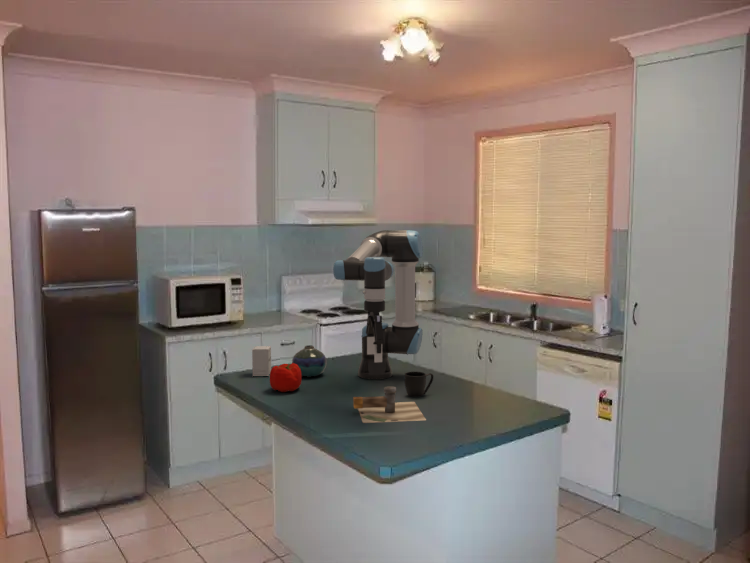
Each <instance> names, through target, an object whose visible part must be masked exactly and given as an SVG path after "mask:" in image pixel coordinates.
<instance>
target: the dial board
mask: <svg viewBox="0 0 750 563" xmlns="http://www.w3.org/2000/svg"><path fill="white" fill-rule="evenodd" d="M357 410H358V413H359V416H360V419H361V422H362V423H363V424H373V423H375V424H376V423H396V422H397V423H399V422H416V421H417V422H420V421H424V422H425V421H427V418H426V417H425V415H424V414H423V413H422V411H421V410H420V408H419V406H418V405H417V404H416V402H415V401H402V402H400V401H399V402H398V401H397V402H396V401H395V412H391V413H389V412H385V407H373V408H357Z"/></svg>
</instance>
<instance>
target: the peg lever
mask: <svg viewBox="0 0 750 563" xmlns="http://www.w3.org/2000/svg"><path fill="white" fill-rule="evenodd" d="M383 393H384V396H353V397H352V398H353V402H352V405H353V409H355V410H357V409H358V408H373V407H385V412H389V413H391V412H395V403H396V393H397V387H396V386H392V385H391V386H385V387H384V388H383Z"/></svg>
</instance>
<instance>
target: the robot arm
mask: <svg viewBox="0 0 750 563" xmlns="http://www.w3.org/2000/svg"><path fill="white" fill-rule="evenodd" d="M359 245H360V246H359V247H358V248H357V249H356V250H355V251H353V252H352V254H351V255H350V256H348V257H347V258H346V259H340V260H336V261H334V264H333V269H332V270H333V271H332V272H333V273H332V274H333V277H334V279H336V280H338V281H361V282H362V281H363V284H364V285H363V286H364V288H363V289H364V290H363V291H362V294H364V296H363V298H364V302H363V306H364V307H363V310H364V311H365V312H367V319H366V325H363V327H362V330H361V361H360V363H359V367H358V371H357V376H358V377H359V378H362V379H366V380H384V379H385V380H386V379H389V378H391V377H392V376H393V370H392V367H391V364H390V360H389V354H394V355H395V354H398V355H407V356H408V355H416V354H418V353H419V351H420V349H421V347H422V342H423V329H422V328H421V327H419V326H420V324H419V322H418V321H417V320H416V265H417V264H419V259H421V258H422V257H423V252H424V251H423V250H424V249H423V248H424V247H423V242H422V237H421V235H420V232H419V231H417V230H409V229H405V230H404V229H402V230H401V229H400V230H399V229H398V230H396V229H395V230H393V229H391V230H390V229H385V230H384V229H383V230H379V231H377V232H376V231H375V232H373V233H371V234H370V235H368V236H366V237H365V238H364V239H363V240H361V242H360V244H359ZM385 258H391V262H389V261H388V260H386V259H385ZM393 265H394V266H395V267H394V266H393ZM394 268H395V269H394ZM394 271H395V273H394ZM394 274H395V276H394V279H395V280H394V281H395V282H394V283H395V286H394V287H395V288H394V289H395V290H394V291H395V293H394V294H395V296H394V297H395V298H394V299H395V301H394V302H395V304H394V305H395V306H394V308H395V311H394V312H395V314H394V315H395V316H394V317H395V320H394V321H393V322H392V323H391V326H389V324H388V322H383V316H382V315H380V312H382V313H383V312H384V311H385V310H386V302H385V299H386V281H388V280H390V278H392V276H393V275H394Z"/></svg>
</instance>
